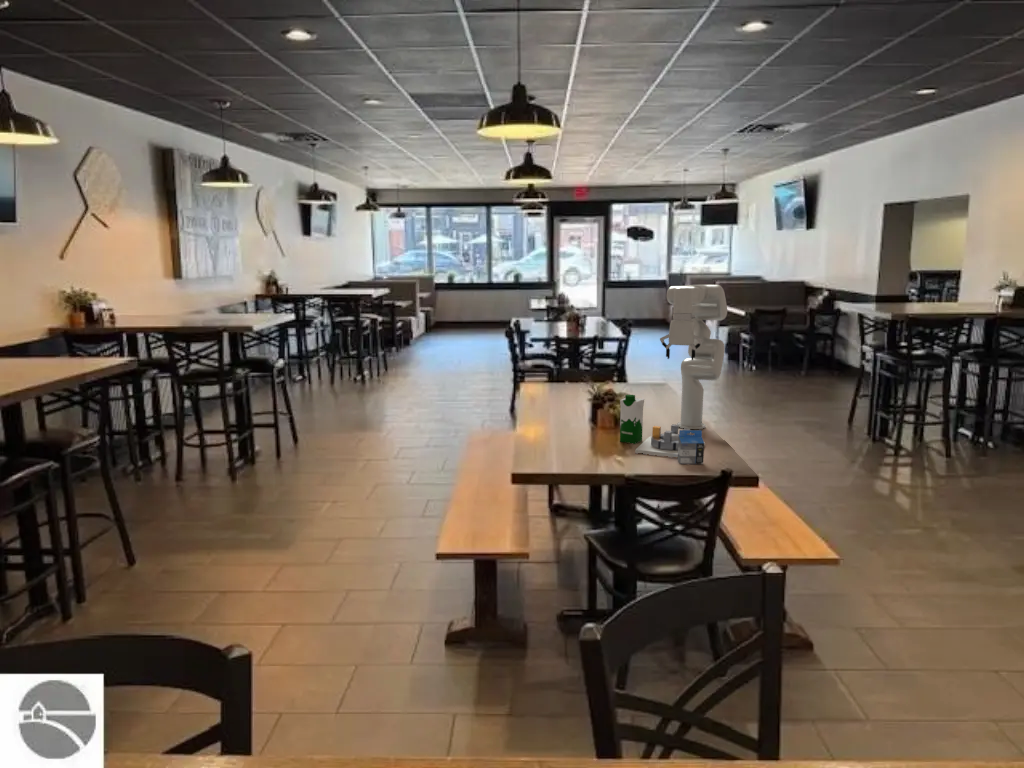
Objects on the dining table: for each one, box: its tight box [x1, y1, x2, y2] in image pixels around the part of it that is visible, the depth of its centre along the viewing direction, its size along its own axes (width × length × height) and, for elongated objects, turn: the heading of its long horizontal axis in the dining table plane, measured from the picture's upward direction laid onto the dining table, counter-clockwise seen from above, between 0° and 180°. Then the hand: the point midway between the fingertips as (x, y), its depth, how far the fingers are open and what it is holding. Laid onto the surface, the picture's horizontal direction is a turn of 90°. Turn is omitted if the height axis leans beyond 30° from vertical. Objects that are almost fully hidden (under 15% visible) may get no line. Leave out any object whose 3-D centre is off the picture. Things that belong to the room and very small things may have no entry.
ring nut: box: [651, 423, 692, 450], centre depth 295 cm, size 15×15×7 cm
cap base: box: [634, 433, 706, 458], centre depth 295 cm, size 23×23×6 cm
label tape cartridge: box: [677, 429, 705, 465], centre depth 276 cm, size 9×4×12 cm, turn 91°
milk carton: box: [619, 394, 645, 445], centre depth 307 cm, size 9×9×20 cm
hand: (680, 359), depth 303 cm, fingers open, 9 cm apart
